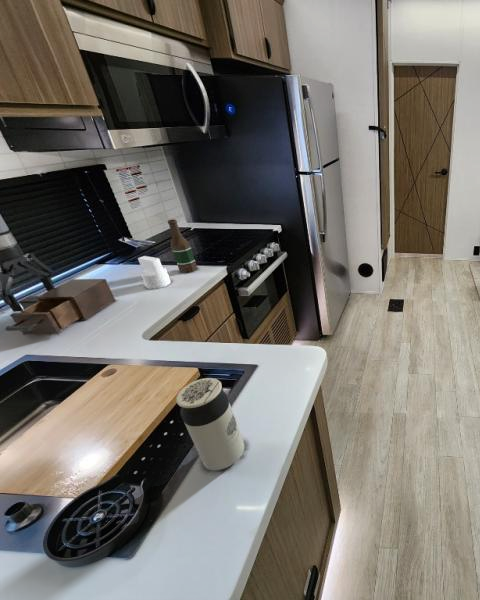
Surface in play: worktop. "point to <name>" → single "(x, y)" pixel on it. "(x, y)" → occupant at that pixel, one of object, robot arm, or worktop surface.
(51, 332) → the drawer
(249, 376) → the worktop surface
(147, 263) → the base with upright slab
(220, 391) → the travel mug
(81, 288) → the cabinet
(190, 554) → the worktop surface
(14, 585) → the worktop surface
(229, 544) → the worktop surface
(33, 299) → the dark grey rectangular block
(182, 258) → the beer bottle
